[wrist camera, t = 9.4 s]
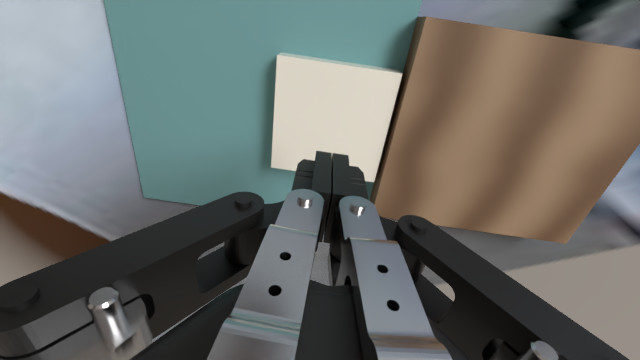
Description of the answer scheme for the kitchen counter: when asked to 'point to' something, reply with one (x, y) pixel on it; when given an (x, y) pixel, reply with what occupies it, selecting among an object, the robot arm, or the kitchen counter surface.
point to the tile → (331, 111)
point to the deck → (507, 129)
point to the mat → (232, 82)
